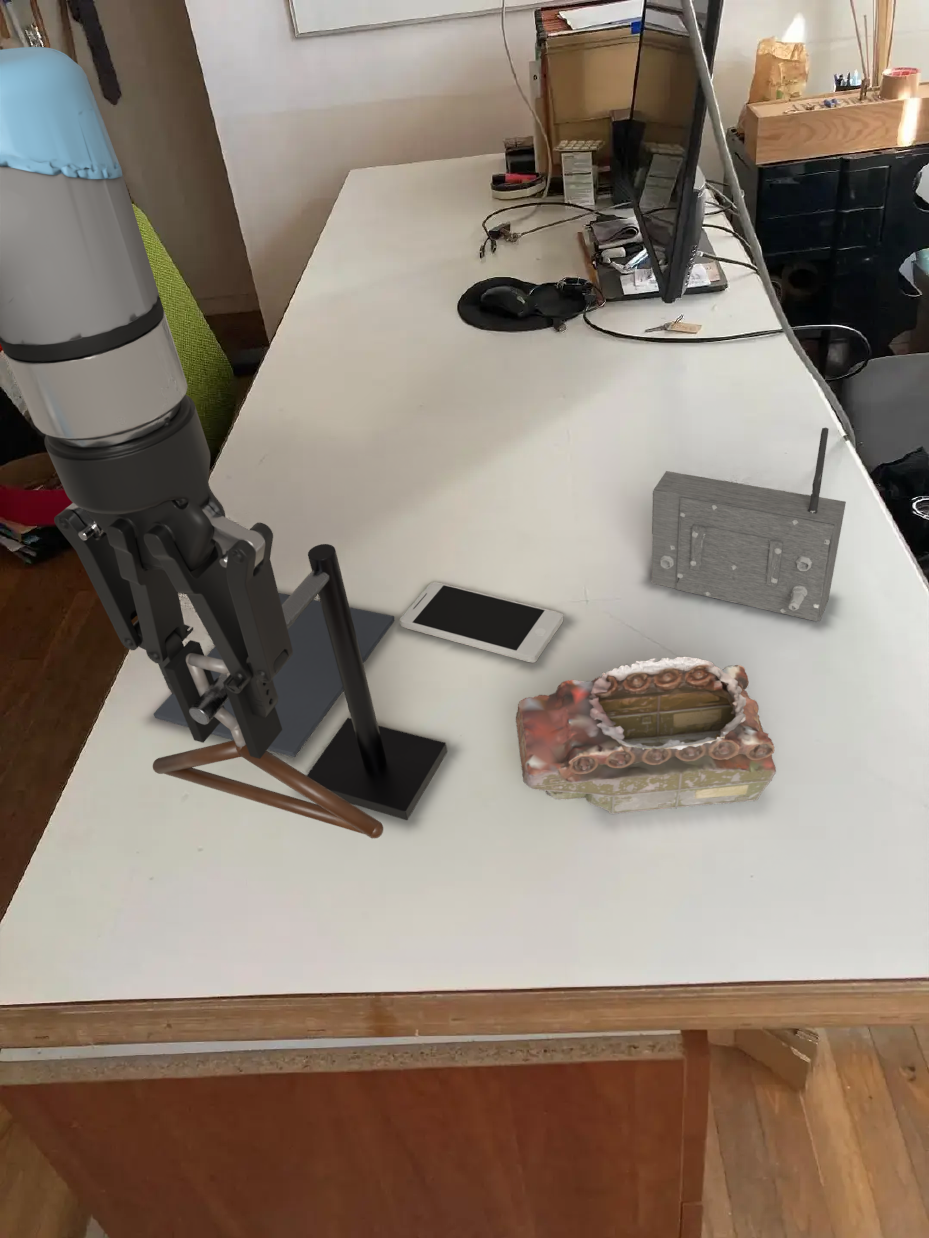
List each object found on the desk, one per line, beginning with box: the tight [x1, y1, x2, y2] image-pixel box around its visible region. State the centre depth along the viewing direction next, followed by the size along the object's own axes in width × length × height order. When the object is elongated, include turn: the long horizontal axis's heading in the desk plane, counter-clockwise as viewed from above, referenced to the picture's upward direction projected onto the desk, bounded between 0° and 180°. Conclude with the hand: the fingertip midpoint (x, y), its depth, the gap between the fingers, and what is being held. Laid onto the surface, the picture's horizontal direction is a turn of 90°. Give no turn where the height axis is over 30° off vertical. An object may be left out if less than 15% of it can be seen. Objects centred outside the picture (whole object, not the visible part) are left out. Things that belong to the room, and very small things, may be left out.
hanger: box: [152, 653, 384, 839], centre depth 61 cm, size 19×1×14 cm, turn 66°
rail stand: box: [189, 543, 448, 821], centre depth 70 cm, size 20×10×24 cm, turn 156°
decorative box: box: [515, 656, 777, 815], centre depth 73 cm, size 13×20×10 cm, turn 86°
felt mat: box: [153, 592, 396, 758], centre depth 93 cm, size 16×20×1 cm
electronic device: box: [650, 427, 847, 622], centre depth 88 cm, size 17×7×20 cm, turn 61°
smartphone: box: [399, 581, 564, 663], centre depth 95 cm, size 7×15×1 cm, turn 62°
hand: (238, 734), depth 61 cm, fingers closed on hanger, 4 cm apart
